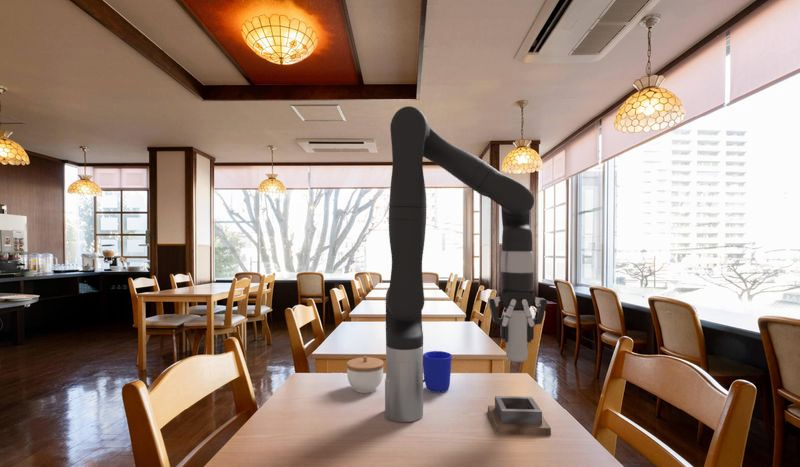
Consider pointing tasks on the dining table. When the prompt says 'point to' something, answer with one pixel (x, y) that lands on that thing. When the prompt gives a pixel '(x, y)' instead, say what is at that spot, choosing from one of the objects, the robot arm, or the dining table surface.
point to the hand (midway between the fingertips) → (516, 341)
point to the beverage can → (517, 336)
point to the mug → (437, 370)
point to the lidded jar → (365, 373)
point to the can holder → (517, 416)
